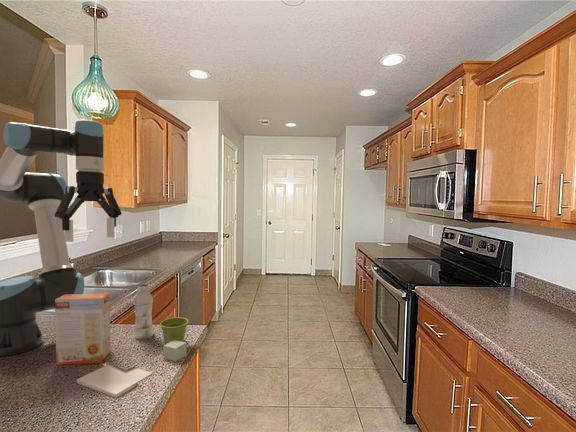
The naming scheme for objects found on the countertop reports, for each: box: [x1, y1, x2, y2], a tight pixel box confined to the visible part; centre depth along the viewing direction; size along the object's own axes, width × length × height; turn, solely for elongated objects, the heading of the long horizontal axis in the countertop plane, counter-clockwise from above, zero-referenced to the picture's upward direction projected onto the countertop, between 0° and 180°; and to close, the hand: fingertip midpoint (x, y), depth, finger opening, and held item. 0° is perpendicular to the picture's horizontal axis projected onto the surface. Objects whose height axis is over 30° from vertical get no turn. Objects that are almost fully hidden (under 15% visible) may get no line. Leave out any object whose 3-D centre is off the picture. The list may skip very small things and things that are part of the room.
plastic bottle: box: [133, 284, 155, 340], centre depth 122 cm, size 6×7×20 cm
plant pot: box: [159, 316, 189, 345], centre depth 117 cm, size 9×9×9 cm
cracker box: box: [54, 293, 112, 366], centre depth 106 cm, size 14×6×21 cm, turn 96°
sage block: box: [162, 340, 187, 362], centre depth 108 cm, size 5×5×5 cm
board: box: [76, 363, 153, 398], centre depth 95 cm, size 16×12×1 cm
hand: (91, 239), depth 105 cm, fingers open, 13 cm apart
